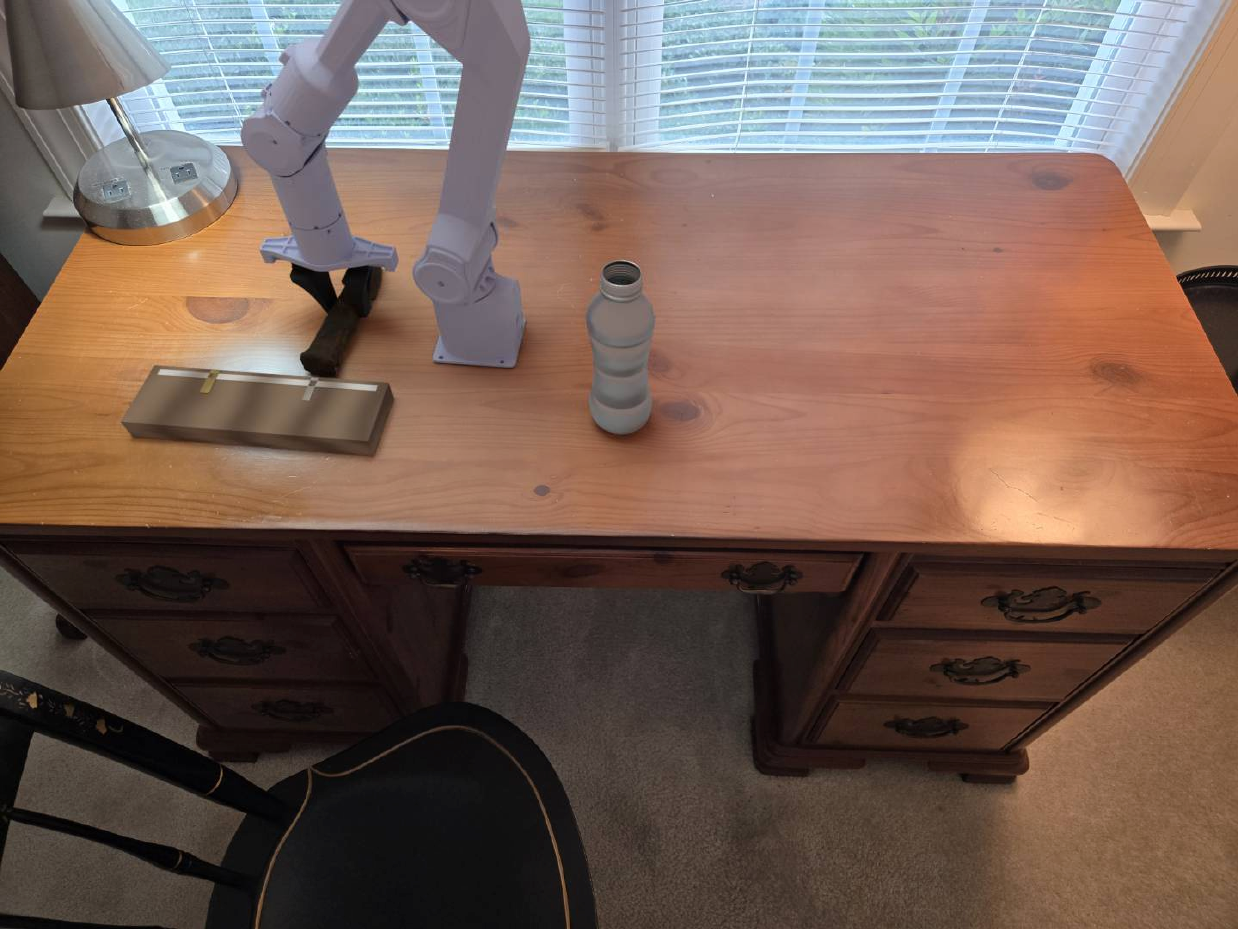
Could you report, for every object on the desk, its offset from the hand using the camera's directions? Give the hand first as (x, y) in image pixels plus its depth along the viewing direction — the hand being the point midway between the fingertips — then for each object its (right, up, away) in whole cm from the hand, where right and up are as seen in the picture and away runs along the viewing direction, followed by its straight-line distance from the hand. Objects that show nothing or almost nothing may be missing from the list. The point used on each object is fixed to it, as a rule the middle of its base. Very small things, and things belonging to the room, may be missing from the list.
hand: (349, 311), depth 93 cm
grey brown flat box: (-6, -13, -8) cm, 16 cm away
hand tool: (0, -1, +1) cm, 2 cm away
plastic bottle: (+32, -13, -7) cm, 35 cm away
